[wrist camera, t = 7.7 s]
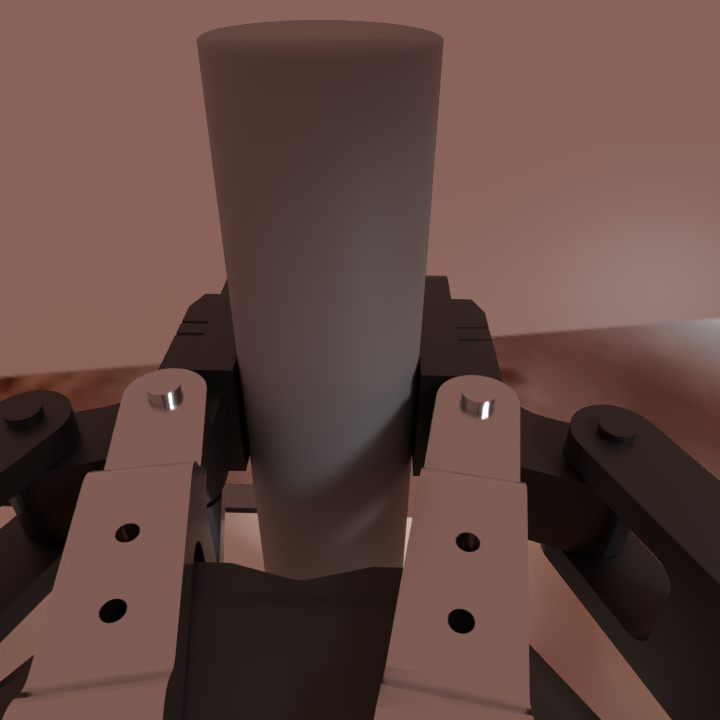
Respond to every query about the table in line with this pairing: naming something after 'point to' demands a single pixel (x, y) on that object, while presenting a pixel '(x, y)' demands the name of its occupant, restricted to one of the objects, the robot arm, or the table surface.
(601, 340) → the table surface
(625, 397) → the table surface
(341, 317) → the base with upright peg
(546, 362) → the table surface
